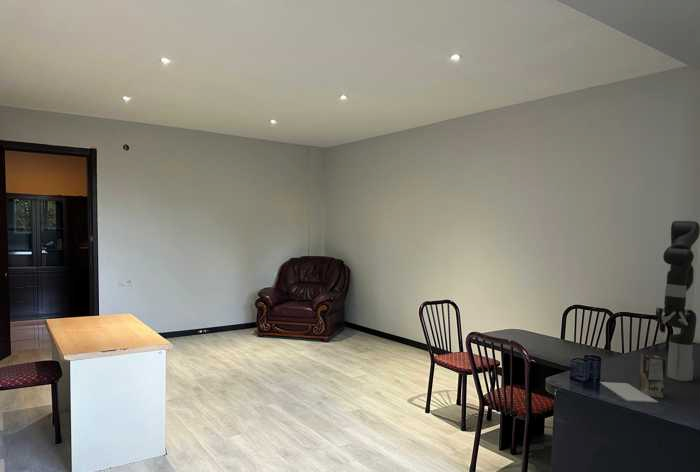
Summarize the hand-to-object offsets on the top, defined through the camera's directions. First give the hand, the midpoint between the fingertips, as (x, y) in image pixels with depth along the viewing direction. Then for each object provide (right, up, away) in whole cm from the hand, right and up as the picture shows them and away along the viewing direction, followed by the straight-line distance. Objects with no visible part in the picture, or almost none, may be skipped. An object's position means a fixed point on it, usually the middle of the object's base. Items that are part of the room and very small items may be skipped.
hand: (672, 332), depth 206 cm
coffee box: (-9, -26, 0) cm, 28 cm away
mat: (-19, -26, 0) cm, 32 cm away
